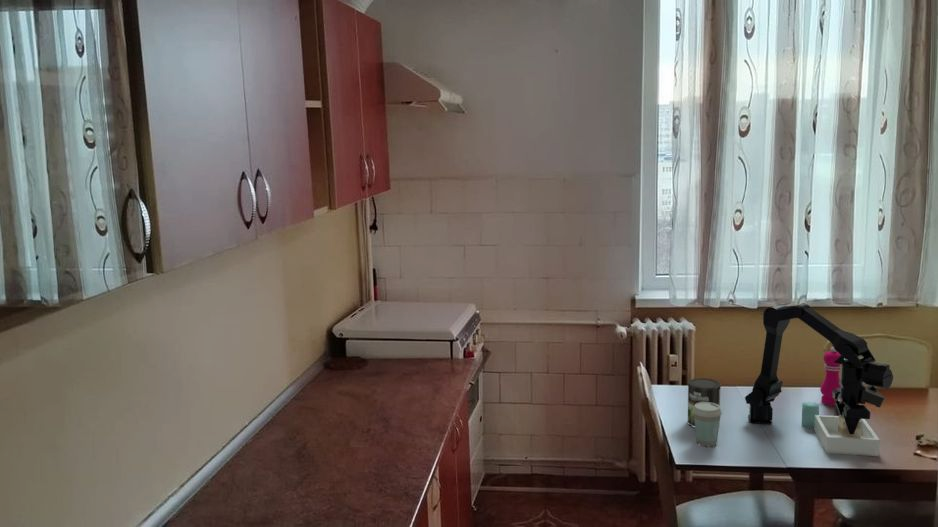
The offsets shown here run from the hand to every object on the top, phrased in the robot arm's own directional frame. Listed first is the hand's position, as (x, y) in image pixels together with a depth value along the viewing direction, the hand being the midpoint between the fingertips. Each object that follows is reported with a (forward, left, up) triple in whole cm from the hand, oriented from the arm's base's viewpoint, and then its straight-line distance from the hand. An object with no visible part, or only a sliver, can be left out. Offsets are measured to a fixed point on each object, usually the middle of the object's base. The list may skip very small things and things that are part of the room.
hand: (849, 430), depth 218 cm
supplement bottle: (+4, +21, -6) cm, 23 cm away
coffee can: (-40, +13, -6) cm, 43 cm away
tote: (0, +4, -6) cm, 7 cm away
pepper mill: (+4, +40, -6) cm, 41 cm away
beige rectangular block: (0, 0, -1) cm, 1 cm away
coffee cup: (-40, -3, -6) cm, 41 cm away
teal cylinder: (-7, +17, -6) cm, 20 cm away
